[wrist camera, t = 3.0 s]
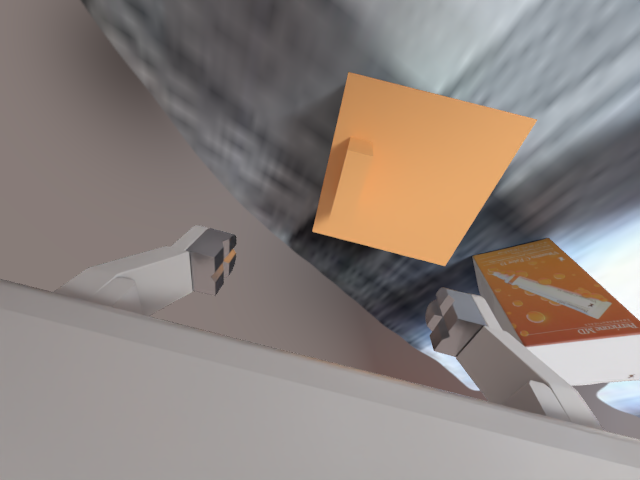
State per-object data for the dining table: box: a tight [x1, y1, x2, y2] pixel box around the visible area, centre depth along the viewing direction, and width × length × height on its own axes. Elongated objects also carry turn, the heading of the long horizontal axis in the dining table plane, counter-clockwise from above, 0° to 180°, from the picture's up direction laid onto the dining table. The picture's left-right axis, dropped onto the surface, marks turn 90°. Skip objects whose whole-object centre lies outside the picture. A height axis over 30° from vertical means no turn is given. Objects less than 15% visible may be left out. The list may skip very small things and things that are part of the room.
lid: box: [312, 72, 537, 266], centre depth 19 cm, size 13×13×6 cm
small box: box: [472, 238, 640, 386], centre depth 26 cm, size 8×6×13 cm
